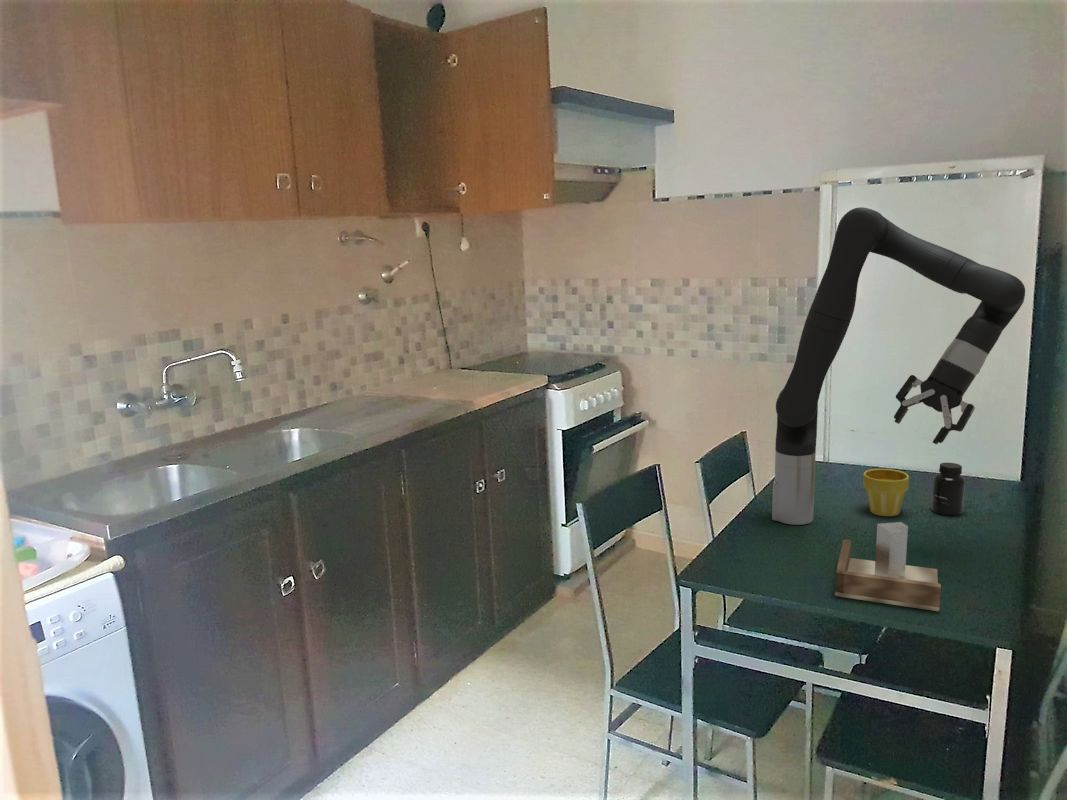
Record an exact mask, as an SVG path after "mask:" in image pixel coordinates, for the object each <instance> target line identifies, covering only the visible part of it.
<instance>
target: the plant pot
mask: <svg viewBox="0 0 1067 800" xmlns="http://www.w3.org/2000/svg"><path fill="white" fill-rule="evenodd" d="M862 475H863V477H862V478H863V479H862V483H863V484H862V485H863V487H864V489H865V490H866V495H867V499H868V506H869V511H870V512H871V513H872V514H874V515H876V516H880V517H895V516H898V515H899V514H900V513H901V509H902V505H903V502H904V497H905V495H906V492H907V491H908V490H909V486H910V484H909V483H910V476H909V474H907V473H906V472H904V471H901V470H898V469H891V468H872V469H867V470H865V471H864V472H863V474H862Z"/></svg>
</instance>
